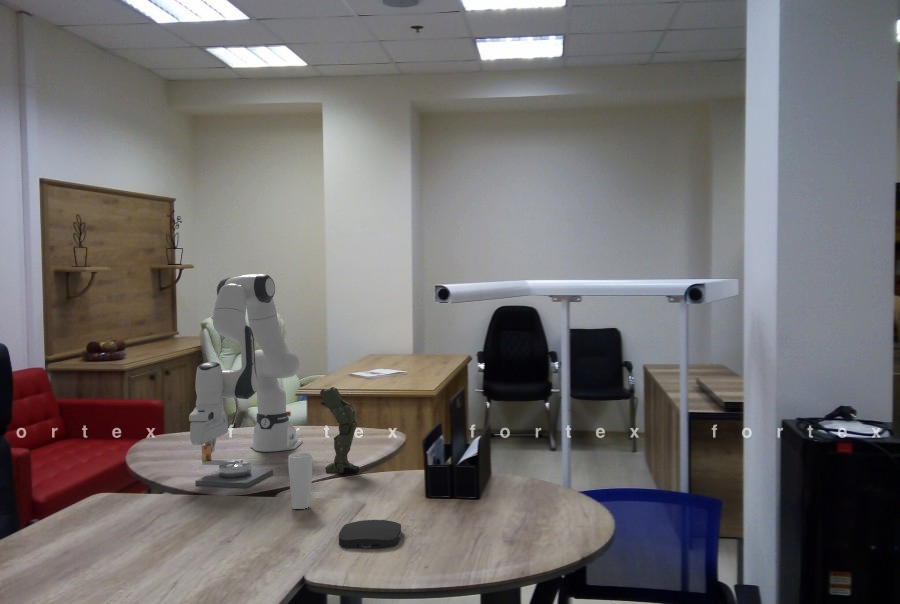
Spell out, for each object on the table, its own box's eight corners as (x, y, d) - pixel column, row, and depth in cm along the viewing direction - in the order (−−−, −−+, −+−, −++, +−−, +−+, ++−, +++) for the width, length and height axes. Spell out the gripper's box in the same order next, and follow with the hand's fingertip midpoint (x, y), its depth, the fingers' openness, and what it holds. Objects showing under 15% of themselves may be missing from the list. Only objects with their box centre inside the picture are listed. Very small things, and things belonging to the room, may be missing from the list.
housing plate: (224, 471, 250) (224, 466, 250) (272, 473, 246) (272, 468, 246) (195, 485, 232) (195, 479, 232) (246, 487, 229) (246, 482, 229)
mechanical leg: (370, 466, 252) (348, 382, 252) (365, 471, 245) (343, 384, 245) (332, 475, 253) (311, 391, 254) (327, 480, 246) (305, 394, 247)
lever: (255, 470, 243) (255, 443, 243) (242, 478, 234) (242, 449, 233) (209, 469, 246) (209, 442, 246) (195, 476, 236) (194, 448, 236)
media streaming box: (346, 530, 187) (346, 518, 187) (403, 530, 187) (402, 518, 187) (335, 550, 173) (335, 537, 173) (397, 550, 172) (397, 537, 172)
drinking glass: (318, 507, 206) (317, 454, 206) (298, 512, 201) (297, 458, 201) (303, 502, 211) (303, 451, 211) (284, 508, 206) (283, 455, 206)
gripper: (215, 406, 254) (216, 445, 255) (186, 416, 234) (187, 459, 234) (232, 406, 253) (233, 445, 254) (204, 417, 233) (205, 460, 233)
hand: (210, 452), depth 244 cm, fingers closed
